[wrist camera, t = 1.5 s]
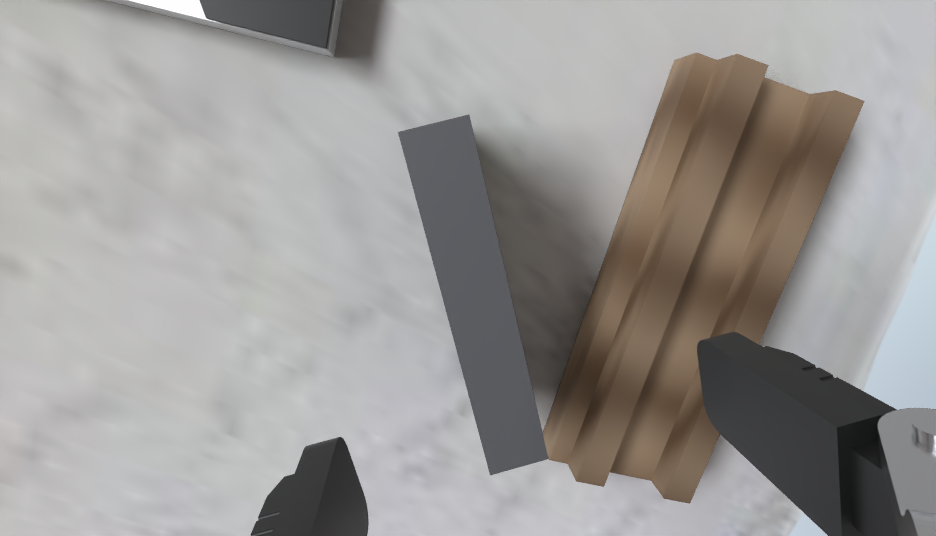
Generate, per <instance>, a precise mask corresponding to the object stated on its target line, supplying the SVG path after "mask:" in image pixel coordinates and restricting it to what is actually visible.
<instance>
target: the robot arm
mask: <svg viewBox="0 0 936 536" xmlns="http://www.w3.org/2000/svg"><path fill="white" fill-rule="evenodd" d="M697 356H698V364H699V372H700V380H701V387H702V395H703V403H704V407H705V410H706V413H707V415H708V418H709V420H710V421H711V423H712V425H713V426H714V428H715V429H716V430H717V431H718V432H719V433H720V434H721V435H722V436H723V437H724V438H725V439H726V440H727V441H728V442H729V443H730V444H732V445H733V446H734V447H735V448H736V449H737V450H738V451H739V452H740V453H741V454H742V455H743V456H744V457H745V458H746V459H747V460H749V461H750V462H751V463H752V464H753V465H754V466H755V467H756V468H757V469H758V470H759V471H760V472H761V473H762V474H763V475H764V476H766V477H767V478H768V479H769V480H770V481H771V482H772V483H773V484H774V485H775V486H776V487H777V488H778V489H779V490H780V491H781V492H782V493H784V494H785V495H786V496H787V497H788V498H789V499H790V500H791V501H792V502H793V503H794V504H795V505H796V506H797V507H798V508H799V509H801V510H802V511H803V512H804V513H805V514H806V515H807V516H808V517H809V518H810V519H811V520H812V521H813V522H814V523H815V524H817V525H818V526H819V527H820V528H821V529H822V530H823V531H824V532H825V533H826V534H827V535H828V536H936V409H928V408H907V409H900V410H896V409H895V408H893V407H891V406H889V405H887V404H885V403H883V402H882V401H880V400H878V399H876V398H874V397H872V396H871V395H869V394H867V393H865V392H863V391H861V390H860V389H858V388H856V387H854V386H852V385H850V384H849V383H847V382H845V381H843V380H841V379H839V378H838V377H837V378H834V377H833V375H832V374H830V373H828V372H827V371H825V370H823V369H821V368H816V367H815V365H814V364H812V363H810V362H808V361H806V360H805V359H803V358H801V357H799V356H797V355H795V354H793V353H790V352H786V351H782V350H779V349H775V348H771V347H767V346H766V347H762V346H760V345H759V344H757V343H755V342H753V341H752V340H750V339H748V338H746V337H745V336H743V335H741V334H739V333H737V332H729V333H726V334H722V335H718V336H714V337H711V338H707V339H703V340H701V341H699V342H698V345H697ZM258 518H259V521H256V524H255V526H254V528H253V530H252V533H251V536H367V533H368V510H367V504H366V500H365V496H364V493H363V490H362V487H361V485H360V482H359V479H358V476H357V473H356V470H355V467H354V465H353V462H352V459H351V456H350V453H349V450H348V447H347V445H346V443H345V441H344V439H343V438H341V437H338V438H334V439H331V440H327V441H323V442H320V443H316V444H312V445H309V446H306V447H305V448H304V451H303V453H302V456H301V458H300V461H299V464H298V466H297V469H296V472H295V474H293V475H289V476H286V477H284V478H283V479H282V480H281V481H280V482H279V484H278V485H277V486H276V487H275V488H274V489H273V491H272V492H271V493H270V494H269V495H268V496H267V498H266V500H265V503H264V505H263V507H262V510H261V512H260V514H259V517H258Z"/></svg>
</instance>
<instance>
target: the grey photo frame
mask: <svg viewBox="0 0 936 536" xmlns="http://www.w3.org/2000/svg"><path fill="white" fill-rule="evenodd" d="M398 133H399V137H400V141H401V145H402V148H403V152H404V156H405V159H406V163H407V167H408V171H409V174H410V178H411V182H412V186H413V189H414V193H415V197H416V200H417V204H418V208H419V212H420V215H421V219H422V223H423V227H424V230H425V234H426V238H427V241H428V245H429V249H430V253H431V256H432V260H433V264H434V267H435V271H436V275H437V279H438V282H439V286H440V290H441V294H442V297H443V301H444V305H445V308H446V312H447V316H448V320H449V323H450V327H451V331H452V335H453V338H454V342H455V346H456V349H457V353H458V357H459V361H460V364H461V368H462V372H463V376H464V379H465V383H466V387H467V390H468V394H469V398H470V402H471V405H472V409H473V413H474V416H475V420H476V424H477V428H478V431H479V435H480V439H481V443H482V446H483V450H484V454H485V457H486V461H487V465H488V469H489V472H490V475H493V474H497V473H500V472H504V471H507V470H511V469H514V468H518V467H521V466H525V465H528V464H532V463H536V462H539V461H543V460H546V459H548V454H547V450H546V446H545V441H544V437H543V433H542V428H541V424H540V420H539V415H538V411H537V407H536V402H535V398H534V394H533V389H532V385H531V381H530V376H529V372H528V368H527V363H526V359H525V355H524V350H523V346H522V342H521V337H520V333H519V329H518V324H517V320H516V316H515V311H514V307H513V303H512V298H511V294H510V290H509V285H508V281H507V277H506V272H505V268H504V264H503V259H502V255H501V251H500V246H499V242H498V238H497V233H496V229H495V225H494V220H493V216H492V212H491V207H490V203H489V199H488V194H487V190H486V186H485V181H484V177H483V172H482V168H481V164H480V159H479V155H478V151H477V146H476V142H475V138H474V133H473V129H472V125H471V120H470V116H469V115H465V116H461V117H457V118H453V119H449V120H445V121H441V122H437V123H433V124H429V125H425V126H421V127H417V128H413V129H409V130H405V131H401V132H398Z"/></svg>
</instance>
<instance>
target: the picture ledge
mask: <svg viewBox="0 0 936 536" xmlns="http://www.w3.org/2000/svg"><path fill="white" fill-rule="evenodd" d="M767 68H768V65H766V64H763V63H761V62H758V61H755V60H753V59H750V58H747V57H744V56H742V55H739V54H735V55H732V56H729V57H726V58H722V59H719V60H715V59H713V58H710V57H707V56H704V55H702V54H699V53H694V54H691V55H688V56H686V57H683V58H680V59H677V60H674V63H673V66H672V69H671V72H670V75H669V77H668V80H667V83H666V86H665V89H664V92H663V94H662V97H661V100H660V103H659V106H658V109H657V111H656V114H655V117H654V120H653V123H652V125H651V128H650V131H649V134H648V137H647V140H646V142H645V145H644V148H643V151H642V154H641V157H640V159H639V162H638V165H637V168H636V171H635V174H634V176H633V179H632V182H631V185H630V188H629V191H628V193H627V196H626V199H625V202H624V205H623V208H622V210H621V213H620V216H619V219H618V222H617V224H616V227H615V230H614V233H613V236H612V239H611V241H610V244H609V247H608V250H607V253H606V256H605V258H604V261H603V264H602V267H601V270H600V273H599V275H598V278H597V281H596V284H595V287H594V290H593V292H592V295H591V298H590V301H589V304H588V307H587V309H586V312H585V315H584V318H583V321H582V324H581V326H580V329H579V332H578V335H577V338H576V340H575V343H574V346H573V349H572V352H571V355H570V357H569V360H568V363H567V366H566V369H565V372H564V374H563V377H562V380H561V383H560V386H559V389H558V391H557V394H556V397H555V400H554V403H553V406H552V408H551V411H550V414H549V417H548V420H547V423H546V425H545V428H544V431H543V437H544V441H545V446H546V450H547V454H548V458H549V460H552V461H557V462H562V463H567V464H568V465H569V467H570V469H571V471H572V473H573V476H574V478H575V480H576V481H577V482H582V483H588V484H593V485H598V486H603V487H604V485H605V483H606V480H607V477H608V475H609V472H611V473H616V474H621V475H626V476H631V477H636V478H641V479H646V480H651V481H652V482H653V484H654V485H655V487H656V488H657V489H658V491H659V492H660V494H661V495H662V496H663V498H664V499H669V500H674V501H679V502H685V503H690V502H691V500H692V497H693V495H694V493H695V490H696V488H697V486H698V484H699V481H700V479H701V477H702V474H703V472H704V470H705V467H706V465H707V463H708V460H709V458H710V456H711V454H712V451H713V449H714V447H715V444H716V442H717V440H718V437H719V435H720V433H719V432H718V431H717V430H716V429H715V428H714V426H713V425H712V423H711V421H710V420H709V418H708V415H707V413H706V410H705V407H704V403H703V395H702V387H701V380H700V372H699V364H698V356H697V345H698V342H699V341H701V340H703V339H707V338H711V337H714V336H718V335H722V334H726V333H729V332H737V333H739V334H741V335H743V336H745V337H746V338H748V339H750V340H752V341H753V342H755V343H757V344H759V343H760V341H761V338H762V336H763V334H764V332H765V329H766V327H767V325H768V322H769V320H770V318H771V315H772V313H773V311H774V309H775V306H776V304H777V302H778V299H779V297H780V295H781V292H782V290H783V288H784V285H785V283H786V281H787V279H788V276H789V274H790V272H791V269H792V267H793V265H794V262H795V260H796V258H797V256H798V253H799V251H800V249H801V246H802V244H803V242H804V239H805V237H806V235H807V233H808V230H809V228H810V226H811V223H812V221H813V219H814V216H815V214H816V212H817V209H818V207H819V205H820V203H821V200H822V198H823V196H824V193H825V191H826V189H827V186H828V184H829V182H830V180H831V177H832V175H833V173H834V170H835V168H836V166H837V163H838V161H839V159H840V157H841V154H842V152H843V150H844V147H845V145H846V143H847V140H848V138H849V136H850V133H851V131H852V129H853V127H854V124H855V122H856V120H857V117H858V115H859V113H860V110H861V108H862V106H863V104H864V101H863V100H860V99H858V98H855V97H852V96H849V95H847V94H844V93H841V92H839V91H836V90H835V91H828V92H822V93H815V94H808V93H805V92H803V91H800V90H797V89H795V88H792V87H789V86H786V85H784V84H781V83H778V82H775V81H773V80H770V79H767V78H764V76H765V73H766V71H767Z"/></svg>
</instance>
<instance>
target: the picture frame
mask: <svg viewBox="0 0 936 536" xmlns="http://www.w3.org/2000/svg"><path fill="white" fill-rule="evenodd" d="M106 1H110V2H114V3H118V4H122V5H126V6H130V7H134V8H138V9H142V10H146V11H150V12H154V13H158V14H162V15H166V16H170V17H174V18H178V19H182V20H186V21H190V22H194V23H198V24H202V25H206V26H210V27H214V28H218V29H222V30H226V31H230V32H234V33H238V34H242V35H246V36H250V37H254V38H258V39H262V40H266V41H270V42H274V43H278V44H282V45H286V46H290V47H294V48H298V49H302V50H306V51H310V52H314V53H318V54H322V55H326V56H330V57H334V56H335V50H336V43H337V37H338V30H339V24H340V17H341V11H342V4H343V0H106Z"/></svg>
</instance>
